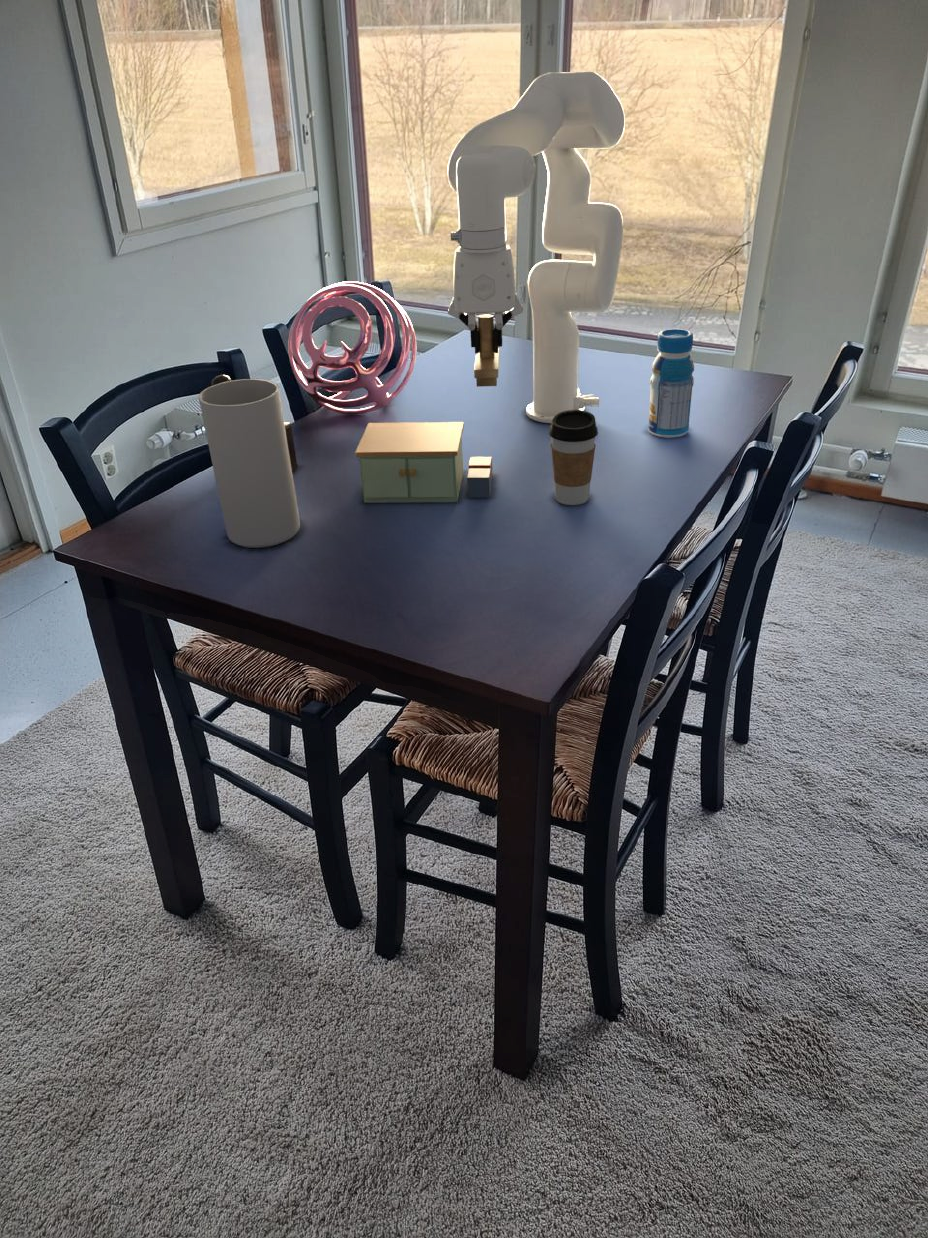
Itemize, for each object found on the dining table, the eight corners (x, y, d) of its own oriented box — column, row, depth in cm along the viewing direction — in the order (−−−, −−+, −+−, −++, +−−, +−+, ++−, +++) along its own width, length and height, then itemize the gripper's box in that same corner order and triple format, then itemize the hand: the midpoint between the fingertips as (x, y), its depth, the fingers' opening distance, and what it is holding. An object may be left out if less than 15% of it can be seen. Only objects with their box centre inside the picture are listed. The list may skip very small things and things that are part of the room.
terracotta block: (471, 476, 177) (492, 476, 176) (469, 485, 173) (490, 485, 173) (470, 456, 175) (491, 456, 174) (468, 465, 171) (490, 465, 171)
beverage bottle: (671, 442, 186) (679, 342, 175) (638, 431, 191) (644, 333, 181) (697, 430, 190) (707, 332, 180) (664, 420, 196) (671, 324, 185)
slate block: (470, 488, 172) (491, 488, 172) (467, 497, 169) (489, 497, 169) (469, 468, 170) (491, 468, 170) (466, 477, 167) (489, 477, 166)
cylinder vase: (267, 556, 154) (240, 410, 140) (212, 539, 160) (181, 398, 146) (315, 525, 163) (294, 385, 149) (262, 510, 168) (237, 374, 155)
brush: (500, 360, 169) (498, 304, 163) (498, 386, 158) (496, 327, 152) (477, 361, 169) (475, 305, 164) (474, 386, 158) (472, 327, 153)
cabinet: (466, 471, 179) (463, 421, 173) (459, 505, 166) (456, 453, 161) (373, 471, 181) (368, 422, 175) (360, 505, 168) (354, 454, 163)
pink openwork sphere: (335, 292, 220) (296, 245, 194) (445, 327, 216) (419, 283, 189) (296, 405, 222) (251, 373, 195) (404, 442, 217) (373, 414, 190)
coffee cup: (600, 490, 169) (603, 411, 161) (589, 510, 162) (592, 429, 154) (555, 485, 172) (555, 407, 163) (543, 505, 165) (543, 424, 157)
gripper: (430, 245, 149) (438, 359, 159) (532, 241, 147) (533, 356, 158) (435, 235, 155) (442, 345, 165) (533, 231, 154) (534, 342, 164)
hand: (487, 349), depth 161 cm, fingers closed on brush, 2 cm apart
